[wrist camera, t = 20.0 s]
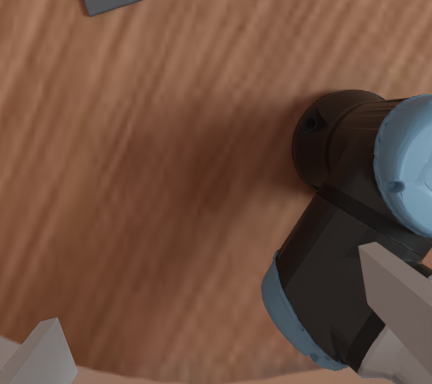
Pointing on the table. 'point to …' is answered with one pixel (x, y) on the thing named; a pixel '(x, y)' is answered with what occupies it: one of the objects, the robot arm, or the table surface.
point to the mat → (105, 5)
